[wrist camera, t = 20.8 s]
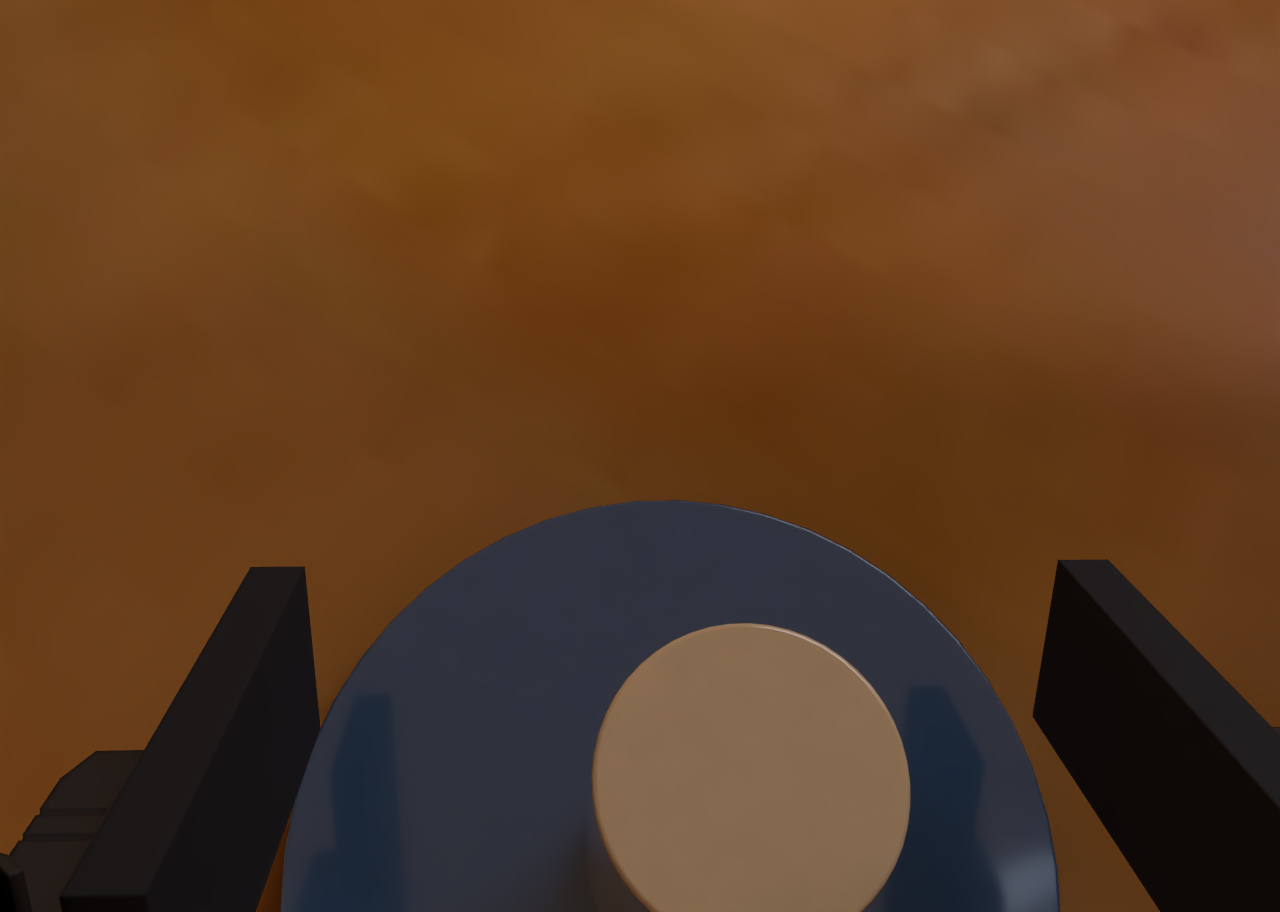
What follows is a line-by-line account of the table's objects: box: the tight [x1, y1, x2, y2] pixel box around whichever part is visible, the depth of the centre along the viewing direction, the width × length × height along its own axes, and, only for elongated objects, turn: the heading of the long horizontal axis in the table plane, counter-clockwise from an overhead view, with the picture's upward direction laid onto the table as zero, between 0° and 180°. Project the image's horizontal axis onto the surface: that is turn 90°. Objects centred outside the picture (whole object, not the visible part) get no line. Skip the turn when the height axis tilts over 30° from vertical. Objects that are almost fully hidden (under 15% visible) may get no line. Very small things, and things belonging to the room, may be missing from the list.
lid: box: [280, 500, 1060, 912], centre depth 15 cm, size 13×13×10 cm
